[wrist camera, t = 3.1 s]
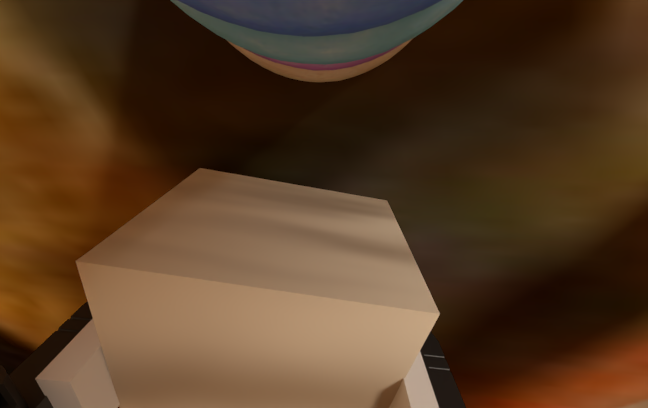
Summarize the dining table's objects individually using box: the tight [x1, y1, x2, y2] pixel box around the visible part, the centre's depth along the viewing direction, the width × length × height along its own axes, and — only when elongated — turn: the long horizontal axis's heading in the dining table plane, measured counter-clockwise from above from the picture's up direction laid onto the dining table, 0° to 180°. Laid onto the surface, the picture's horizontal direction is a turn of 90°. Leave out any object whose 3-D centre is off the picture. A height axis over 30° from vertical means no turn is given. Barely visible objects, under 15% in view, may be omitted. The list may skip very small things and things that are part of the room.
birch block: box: [76, 168, 440, 408], centre depth 10 cm, size 8×8×6 cm
